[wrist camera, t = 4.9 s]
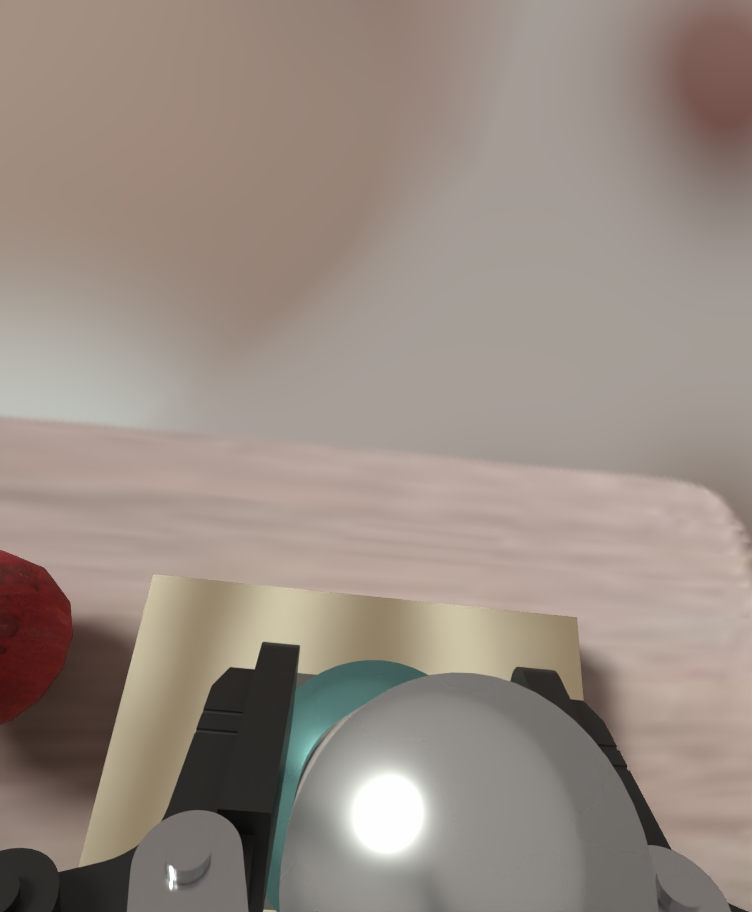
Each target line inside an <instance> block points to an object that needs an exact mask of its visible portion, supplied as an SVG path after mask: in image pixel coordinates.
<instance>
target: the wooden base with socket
mask: <svg viewBox="0 0 752 912" xmlns="http://www.w3.org/2000/svg"><path fill="white" fill-rule="evenodd" d="M262 642H272V643H283V644H293V645H300V654H299V663H298V673H297V682H296V689H297V688H299V687H300V686H301V685H303V684H304V683H305V682H307V681H308V680H309V679H311V678H313V677H314V676H316V675H318V674H320V673H321V672H323V671H326V670H328V669H331V668H333V667H335V666H338V665H342V664H346V663H350V662H355V661H363V660H384V661H390V662H396V663H400V664H403V665H407V666H410V667H413V668H415V669H417V670H419V671H421V672H424V673H426V674H428V675H434V674H443V673H451V672H454V673H476V674H482V675H488V676H494V677H497V678H501V679H504V680H507V681H510V680H511V676H512V673H513V671H514V669H515V668H516V667H527V668H537V669H548V670H555V671H556V672H557V673H558V675H559V676H560V678H561V680H562V683H563V685H564V687H565V689H566V691H567V693H568V695H569V697H570V699H573V700H583V701H584V699H583V687H582V675H581V662H580V650H579V637H578V625H577V617H568V616H558V615H548V614H538V613H528V612H519V611H509V610H499V609H489V608H479V607H470V606H460V605H450V604H440V603H430V602H421V601H411V600H401V599H391V598H381V597H372V596H362V595H352V594H342V593H332V592H323V591H313V590H303V589H293V588H283V587H274V586H264V585H254V584H244V583H234V582H225V581H215V580H205V579H195V578H185V577H176V576H166V575H156V574H153V578H152V581H151V585H150V589H149V593H148V597H147V601H146V605H145V609H144V613H143V616H142V620H141V624H140V628H139V632H138V636H137V640H136V644H135V648H134V652H133V655H132V659H131V663H130V667H129V671H128V675H127V679H126V683H125V687H124V690H123V694H122V698H121V702H120V706H119V710H118V714H117V718H116V722H115V726H114V729H113V733H112V737H111V741H110V745H109V749H108V753H107V757H106V761H105V765H104V768H103V772H102V776H101V780H100V784H99V788H98V792H97V796H96V800H95V803H94V807H93V811H92V815H91V819H90V823H89V827H88V831H87V835H86V839H85V842H84V846H83V850H82V854H81V858H80V862H79V866H78V867H83V866H87V865H91V864H95V863H99V862H103V861H106V860H109V859H113V858H115V857H117V856H120V855H122V854H124V853H126V852H127V851H129V850H131V849H133V848H134V847H136V846H137V845H138V844H140V842H141V841H142V839H143V838H144V837H145V836H146V834H147V833H148V832H149V831H150V830H151V829H152V828H153V827H155V826H156V825H157V824H159V823H160V822H161V820H162V818H163V817H164V815H165V812H166V810H167V808H168V805H169V802H170V800H171V797H172V794H173V791H174V789H175V786H176V783H177V780H178V778H179V775H180V772H181V769H182V766H183V764H184V761H185V758H186V755H187V753H188V750H189V747H190V744H191V742H192V739H193V736H194V733H196V728H197V725H198V722H199V719H200V717H201V714H202V713H203V708H204V705H205V703H206V700H207V697H208V694H209V692H210V689H211V686H212V685H213V684H214V683H215V682H216V681H217V680H218V679H219V678H220V677H221V676H222V675H223V674H224V673H225V672H226V671H227V670H228V669H229V668H230V667H236V668H246V669H255V666H256V663H257V659H258V655H259V652H260V648H261V644H262ZM263 912H276V910H275V909H274V908H273V906H272V905H271V904H270V902H269V901H268V899H267V897H265V903H264V910H263Z"/></svg>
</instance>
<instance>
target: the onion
mask: <svg viewBox="0 0 752 912" xmlns="http://www.w3.org/2000/svg"><path fill="white" fill-rule="evenodd" d="M72 636H73V630H72V617H71V605H70V601H69V600H68V599H67V597H66V596H65V595H64V593H63V592H62V590H61V589H60V588H59V586H58V585H57V583H56V582H55V581H54V579H53V578H52V577H51V575H50V574H49V573H48V572H47V571H46V569H45V568H43V567H41V566H38V565H36V564H34V563H31V562H29V561H27V560H24V559H22V558H19V557H17V556H15V555H12V554H10V553H7V552H5V551H2V550H0V724H3V723H5V722H8V721H11V720H13V719H14V718H15V717H17V716H18V715H19V714H21V713H22V712H23V711H24V710H26V709H27V708H28V707H30V706H31V705H32V704H34V703H35V702H36V701H38V700H39V699H40V698H41V697H42V696H43V694H44V693H45V692H46V690H47V689H48V688H49V686H50V685H51V683H52V682H53V681H54V679H55V678H56V677H57V675H58V674H59V672H60V671H61V670H62V668H63V665H64V661H65V658H66V655H67V652H68V649H69V646H70V643H71V640H72Z"/></svg>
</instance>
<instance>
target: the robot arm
mask: <svg viewBox="0 0 752 912" xmlns="http://www.w3.org/2000/svg"><path fill="white" fill-rule="evenodd" d="M299 654H300V645H293V644H283V643H272V642H262V644H261V648H260V652H259V655H258V659H257V663H256V666H255V669H246V668H236V667H230V668H229V669H228V670H227V671H226V672H225V673H224V674H223V675H222V676H221V677H220V678H219V679H218V680H217V681H216V682H215V683H214V684H213V685H212V686H211V689H210V692H209V694H208V697H207V700H206V703H205V705H204V708H203V713H202V714H201V717H200V719H199V722H198V725H197V728H196V733H194V736H193V739H192V742H191V744H190V747H189V750H188V753H187V755H186V758H185V761H184V764H183V766H182V769H181V772H180V775H179V778H178V780H177V783H176V786H175V789H174V791H173V794H172V797H171V800H170V802H169V805H168V808H167V810H166V812H165V815H164V817H163V818H162V820H161V822H160V823H159V824H157V825H156V826H155V827H153V828H152V829H151V830H150V831H149V832H148V833H147V834H146V836H145V837H144V838H143V839H142V841H141V842H140V844H138V845H137V846H136V847H134V848H133V849H131V850H129V851H127V852H126V853H124V854H122V855H120V856H117V857H115V858H113V859H109V860H106V861H103V862H99V863H95V864H91V865H87V866H83V867H78V868H74V869H70V870H66V871H62V872H58V871H57V868H56V866H55V864H54V863H53V861H52V860H51V859H50V858H49V857H48V856H47V855H45V854H43V853H41V852H39V851H36V850H33V849H26V848H13V849H7V850H2V851H0V912H263V910H264V903H265V897H266V890H267V884H268V877H269V871H270V865H271V858H272V852H273V845H274V839H275V832H276V826H277V819H278V813H279V806H280V800H281V793H282V787H283V781H284V774H285V768H286V761H287V755H288V748H289V742H290V735H291V727H292V719H293V711H294V701H295V692H296V682H297V673H298V663H299ZM510 682H513V683H516V684H518V685H520V686H523V687H525V688H527V689H529V690H531V691H534V692H536V693H537V694H539V695H540V696H542V697H544V698H545V699H547V700H548V701H550V702H552V703H553V704H555V705H556V706H557V707H559V708H560V709H561V710H562V711H564V712H565V713H566V714H567V715H569V716H570V717H571V718H572V719H574V720H575V721H576V722H577V723H578V724H579V725H580V726H581V727H582V728H583V730H584V731H585V732H586V733H587V734H588V735H589V736H590V737H591V738H592V739H593V740H594V741H595V743H596V744H597V745H598V747H599V748H600V749H601V750H602V752H603V753H604V754H605V755H606V757H607V758H608V760H609V761H610V763H611V764H612V766H613V767H614V769H615V771H616V772H617V774H618V775H619V777H620V778H621V780H622V782H623V784H624V786H625V788H626V790H627V792H628V794H629V796H630V798H631V800H632V802H633V804H634V807H635V809H636V812H637V814H638V817H639V820H640V822H641V825H642V828H643V830H644V833H645V837H646V841H647V845H648V848H649V852H650V856H651V859H652V865H653V871H654V877H655V883H656V889H657V904H658V912H748V911H745V910H743V909H740V908H738V907H736V906H733V905H731V904H729V903H727V901H726V899H725V897H724V895H723V894H722V892H721V891H720V889H719V888H718V886H717V885H716V884H715V883H714V882H713V880H712V879H711V878H710V877H709V876H708V875H707V874H706V873H705V872H704V871H703V870H702V869H701V868H700V867H698V866H697V865H696V864H694V863H693V862H692V861H690V860H689V859H687V858H686V857H684V856H683V855H681V854H679V853H677V852H675V851H672V850H671V848H670V846H669V844H668V842H667V840H666V838H665V837H664V835H663V833H662V831H661V829H660V827H659V825H658V823H657V821H656V820H655V818H654V816H653V814H652V812H651V810H650V808H649V806H648V804H647V802H646V801H645V799H644V797H643V795H642V793H641V791H640V789H639V787H638V785H637V784H636V782H635V780H634V778H633V776H632V774H631V772H630V771H628V770H627V765H626V763H625V761H624V759H623V757H622V755H621V753H620V751H619V750H617V749H616V744H615V742H614V740H613V738H612V736H611V734H610V732H609V731H608V729H607V727H606V725H605V723H604V721H603V720H602V719H601V718H600V717H599V716H598V715H597V714H596V713H595V712H594V711H593V710H592V709H591V708H590V707H589V706H588V705H587V704H586V703H585V702H584V701H583V700H573V699H570V697H569V695H568V693H567V691H566V689H565V687H564V685H563V683H562V680H561V678H560V676H559V675H558V673H557V672H556V671H555V670H548V669H537V668H527V667H516V668H515V669H514V671H513V673H512V676H511V680H510Z"/></svg>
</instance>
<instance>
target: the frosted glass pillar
mask: <svg viewBox="0 0 752 912" xmlns="http://www.w3.org/2000/svg"><path fill="white" fill-rule="evenodd" d="M266 897H267V899H268V901H269V902H270V904H271V905H272V906H273V908H274V909H275V910H276V912H658V904H657V889H656V883H655V877H654V871H653V865H652V859H651V856H650V852H649V848H648V845H647V841H646V837H645V833H644V830H643V828H642V825H641V822H640V820H639V817H638V814H637V812H636V809H635V807H634V804H633V802H632V800H631V798H630V796H629V794H628V792H627V790H626V788H625V786H624V784H623V782H622V780H621V778H620V777H619V775H618V774H617V772H616V771H615V769H614V767H613V766H612V764H611V763H610V761H609V760H608V758H607V757H606V755H605V754H604V753H603V752H602V750H601V749H600V748H599V747H598V745H597V744H596V743H595V741H594V740H593V739H592V738H591V737H590V736H589V735H588V734H587V733H586V732H585V731H584V730H583V728H582V727H581V726H580V725H579V724H578V723H577V722H576V721H575V720H574V719H572V718H571V717H570V716H569V715H567V714H566V713H565V712H564V711H562V710H561V709H560V708H559V707H557V706H556V705H555V704H553V703H552V702H550V701H548V700H547V699H545V698H544V697H542V696H540V695H539V694H537V693H536V692H534V691H531V690H529V689H527V688H525V687H523V686H520V685H518V684H516V683H513V682H510V681H507V680H504V679H501V678H497V677H494V676H488V675H482V674H476V673H454V672H451V673H443V674H434V675H428V674H426V673H424V672H421V671H419V670H417V669H415V668H413V667H410V666H407V665H403V664H400V663H396V662H390V661H384V660H363V661H355V662H350V663H346V664H342V665H338V666H335V667H333V668H331V669H328V670H326V671H323V672H321V673H320V674H318V675H316V676H314V677H313V678H311V679H309V680H308V681H307V682H305V683H304V684H303V685H301V686H300V687H299V688H297V689H296V692H295V701H294V711H293V719H292V727H291V735H290V742H289V748H288V755H287V761H286V768H285V774H284V781H283V787H282V793H281V800H280V806H279V813H278V819H277V826H276V832H275V839H274V845H273V852H272V858H271V865H270V871H269V877H268V884H267V890H266Z"/></svg>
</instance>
